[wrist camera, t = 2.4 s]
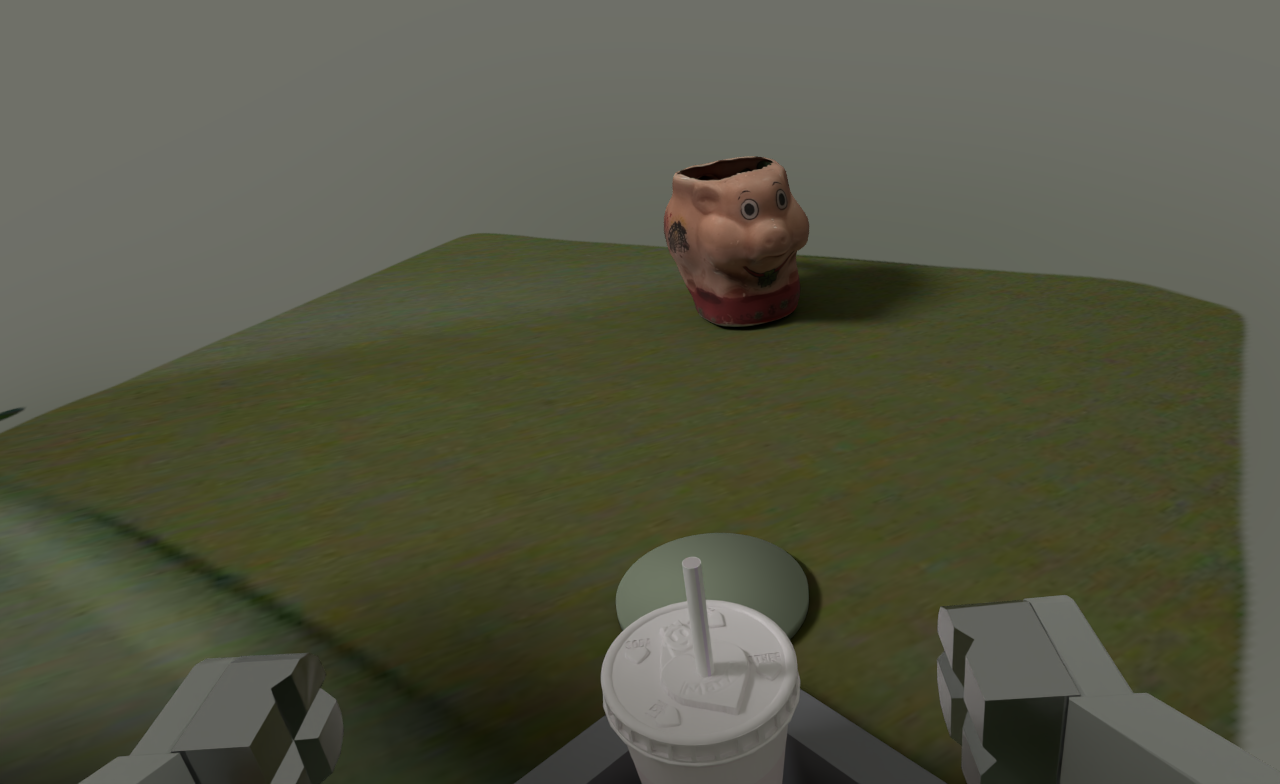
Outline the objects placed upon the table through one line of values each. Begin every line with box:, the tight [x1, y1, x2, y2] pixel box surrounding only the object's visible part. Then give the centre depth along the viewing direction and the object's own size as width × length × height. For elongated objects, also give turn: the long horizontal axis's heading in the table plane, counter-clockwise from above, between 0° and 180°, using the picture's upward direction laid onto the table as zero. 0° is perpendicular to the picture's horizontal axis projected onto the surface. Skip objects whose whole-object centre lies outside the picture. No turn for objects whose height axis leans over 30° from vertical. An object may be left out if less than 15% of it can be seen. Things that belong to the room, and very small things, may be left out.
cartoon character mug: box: [664, 156, 809, 327], centre depth 79 cm, size 20×12×14 cm, turn 24°
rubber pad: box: [616, 533, 809, 640], centre depth 44 cm, size 10×10×1 cm
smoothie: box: [601, 557, 800, 784], centre depth 28 cm, size 6×6×14 cm
